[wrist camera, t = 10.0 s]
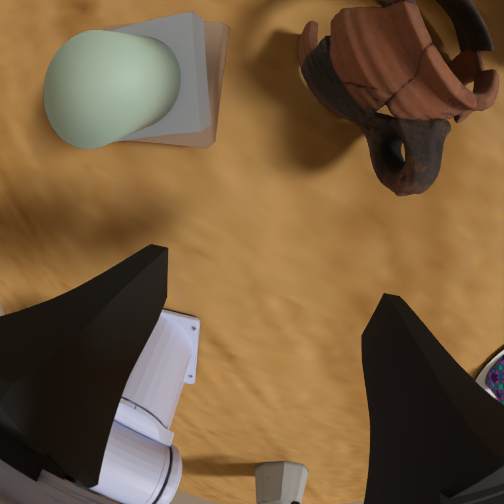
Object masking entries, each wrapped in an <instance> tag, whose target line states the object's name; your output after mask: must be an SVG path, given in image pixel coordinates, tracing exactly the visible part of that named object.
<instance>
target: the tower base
mask: <svg viewBox="0 0 504 504" xmlns="http://www.w3.org/2000/svg"><path fill="white" fill-rule="evenodd" d="M135 24H137V23H135ZM130 25H133V24H124V25H114V26H106V27H104V29H103V31H112V30H116V29H119V28H122V27H126V26H130ZM203 25H204V40H205V55H206V68H207V82H208V94H209V106H210V118H211V126H209V127H208V128H206V129H205V130H203V131H201V132H192V133H181V134H171V135H162V136H153V137H145V138H138V139H131V140H126V141H140V142H152V143H163V144H173V145H183V146H192V147H200V148H208V147H210V146H211V145H212V144H213V143H214V142H215V139H216V130H217V121H218V113H219V104H220V96H221V88H222V81H223V73H224V66H225V58H226V51H227V44H228V37H229V31H230V28H229V27H228V26H227V25H226V24H224V23H220V22H203Z"/></svg>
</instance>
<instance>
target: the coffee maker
mask: <svg viewBox="0 0 504 504" xmlns="http://www.w3.org/2000/svg"><path fill="white" fill-rule="evenodd" d="M308 472H309V470H308V469H307V468H306V467H305V466H304V465H303V464H297V463H292V462H287V461H278V462H263V463H262V464H260V465H258V466H257V467H255V482H256V502H257V504H301V501H302V497H303V493H304V489H305V485H306V481H307V476H308Z"/></svg>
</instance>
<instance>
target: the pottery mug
mask: <svg viewBox="0 0 504 504" xmlns="http://www.w3.org/2000/svg"><path fill="white" fill-rule="evenodd" d="M376 1H377V2H378V3H380V4H381V5H382V6H383V8H377V7H367V8H363V7H356V8H345V9H341V10H340V12H339V13H338V14H336V15H335V16H334V18H333V19H332V21H331V35H330V36H325V37H324V39H322V40H321V41H320V43H319V45H318V43H317V33H318V23H317V22H314V21H310V22H308V23H307V24H306V26H305V28H304V30H303V32H302V34H301V35H300V37H299V41H298V59H299V64H300V67H301V72H302V74H303V77H304V79H305V81H306V83H307V85H308V87H309V89H310V90H311V91H312V92H313V94H314V95H315V96H316V98H317V99H318V100H319V101H320V102H321V103H322V104H323V105H324V106H325V107H326V108H327V109H329V110H331V111H332V112H334V113H335V114H337V115H339V116H340V117H343V118H345V119H348V120H349V121H351V122H353V123H355V124H357V125H358V126H361V130H362V131H363V133H364V135H365V137H366V139H367V142H368V146H369V150H370V157H371V161H372V165H373V168H374V171H375V173H376V175H377V177H378V179H379V180H380V182H381V183H382V184H383V185H385V186H386V187H387V188H389V189H390V190H391V191H393V192H394V193H395V194H396V195H397V196H407V195H412V194H421V193H423V192H424V191H426V190H427V189H428V188H429V187H430V186H431V185H432V184H433V183H434V181H435V180H436V178H437V176H438V174H439V170H440V166H441V159H442V151H443V144H444V140H445V138H446V136H447V134H448V133H449V132H450V131H451V125H450V123H449V121H447V120H446V119H450V118H453V117H454V120H455V122H456V123H459V122H461V121H463V120H464V119H466V118H467V117H468V116H469V115H470V114H471V113H472V112H473V111H483V110H485V109H488V108H489V107H491V106H492V105H493V104H494V101H495V99H496V97H497V94H498V88H499V75H498V74H497V71H496V70H493V69H490V70H485V71H484V64H483V60H482V56H481V53H480V52H481V51H494V44H493V41H492V38H491V35H490V33H489V30H488V28H487V26H486V24H485V22H484V20H483V18H482V16H481V15H480V13H479V11H478V9H477V8H476V6H475V5H474V3H473V2H472V1H471V0H436V1H437V2H438V3H439V5H440V6H441V7H442V8H443V9H444V10H445V12H446V13H447V14H448V16H449V17H450V19H451V20H452V22H453V25H454V27H455V30H456V34H457V38H458V42H459V46H460V50H461V53H460V54H459V55H457V56H456V57H455V58H454V59H453V60H452V61H451V62H450V65H449V66H450V68H449V67H448V66H447V64H446V63H445V62H444V60H443V58H442V57H441V55H440V53H439V52H438V50H437V48H436V47H435V46H434V45H433V44H432V39H431V37H430V35H429V33H428V31H427V29H426V26H425V24H424V21H423V19H422V17H421V14H420V11H419V8H418V6H417V4H416V0H376ZM473 81H474V88H473V92H471V91H470V90H468V89H467V88H466V87H465V86H466V85H467V84H468V83H470V82H473ZM384 105H387V107H388V109H389V111H390V113H391V114H392V115H393V116H395V117H392V116H390V115H385V114H382V113H377V112H376V111H377V110H379V109H380V108H381V107H383V106H384ZM402 143H403V144H404V148H405V161H404V159H403V157H402V154H401V146H402Z"/></svg>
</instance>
